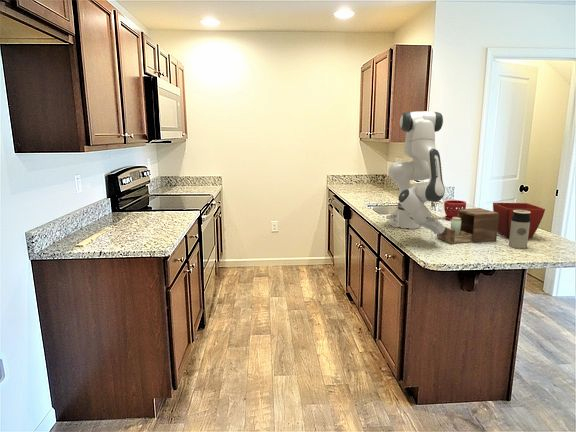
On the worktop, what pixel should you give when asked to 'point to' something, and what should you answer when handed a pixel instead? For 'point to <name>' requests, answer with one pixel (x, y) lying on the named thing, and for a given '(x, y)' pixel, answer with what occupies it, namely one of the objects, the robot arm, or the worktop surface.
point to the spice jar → (456, 225)
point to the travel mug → (519, 229)
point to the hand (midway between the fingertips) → (437, 232)
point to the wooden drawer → (450, 236)
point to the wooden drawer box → (479, 224)
